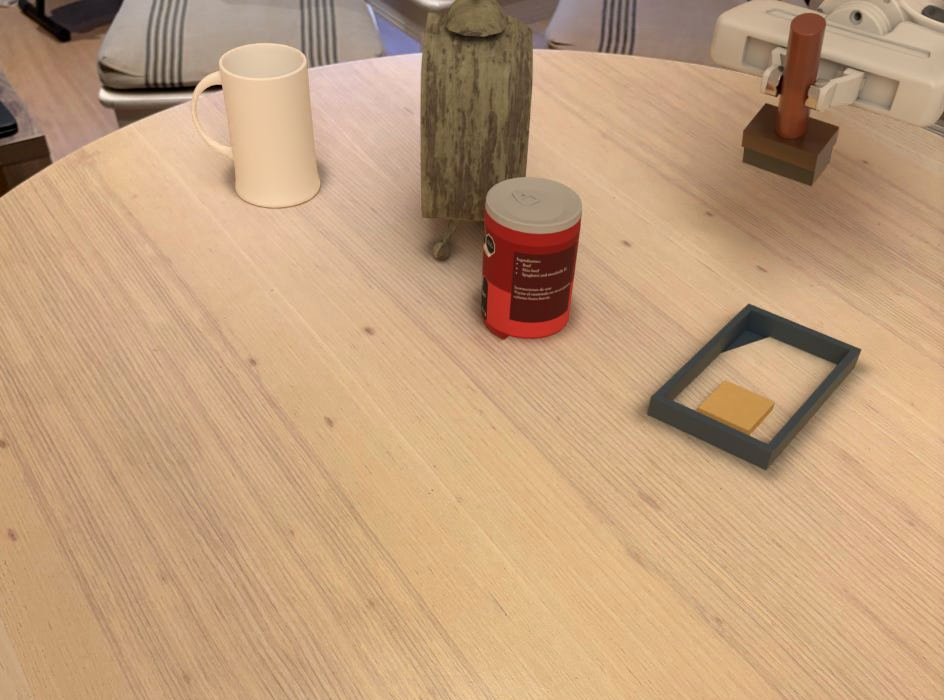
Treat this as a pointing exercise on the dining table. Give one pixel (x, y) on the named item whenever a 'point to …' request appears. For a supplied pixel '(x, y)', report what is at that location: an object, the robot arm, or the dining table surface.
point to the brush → (793, 113)
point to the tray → (735, 334)
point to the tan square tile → (736, 407)
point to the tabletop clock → (472, 109)
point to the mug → (266, 123)
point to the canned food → (529, 257)
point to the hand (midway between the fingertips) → (792, 92)
